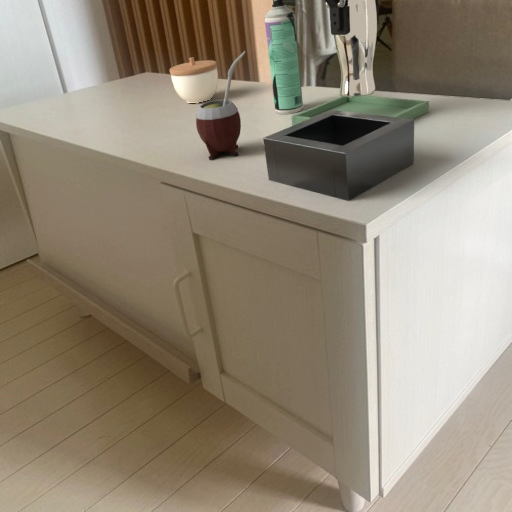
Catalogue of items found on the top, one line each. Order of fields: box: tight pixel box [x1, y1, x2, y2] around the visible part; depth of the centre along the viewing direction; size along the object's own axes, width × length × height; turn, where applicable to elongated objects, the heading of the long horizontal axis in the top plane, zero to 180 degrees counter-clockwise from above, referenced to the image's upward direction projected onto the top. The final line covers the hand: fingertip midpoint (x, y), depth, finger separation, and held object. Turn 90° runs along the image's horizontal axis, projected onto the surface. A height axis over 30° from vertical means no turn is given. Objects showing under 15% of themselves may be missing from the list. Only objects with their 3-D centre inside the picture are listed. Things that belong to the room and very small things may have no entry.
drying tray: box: [290, 95, 430, 126], centre depth 94 cm, size 18×16×2 cm
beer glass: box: [333, 0, 378, 97], centre depth 88 cm, size 7×7×15 cm
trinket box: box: [169, 56, 219, 104], centre depth 122 cm, size 11×11×9 cm
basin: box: [262, 110, 415, 202], centre depth 72 cm, size 14×14×6 cm
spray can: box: [264, 0, 304, 115], centre depth 101 cm, size 6×6×20 cm
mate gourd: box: [195, 50, 246, 161], centre depth 84 cm, size 8×8×15 cm
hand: (355, 29), depth 87 cm, fingers closed on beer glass, 7 cm apart
